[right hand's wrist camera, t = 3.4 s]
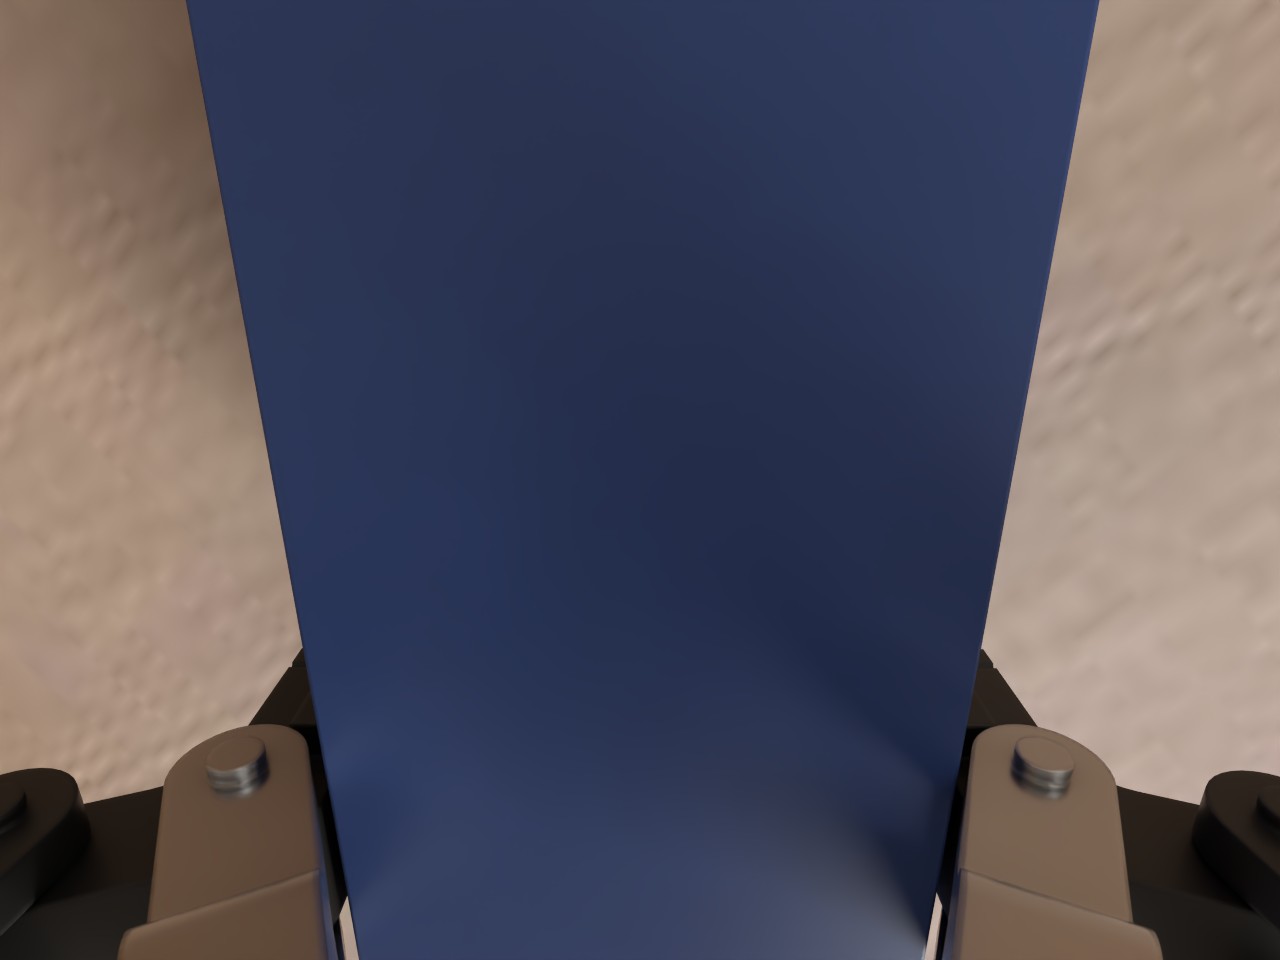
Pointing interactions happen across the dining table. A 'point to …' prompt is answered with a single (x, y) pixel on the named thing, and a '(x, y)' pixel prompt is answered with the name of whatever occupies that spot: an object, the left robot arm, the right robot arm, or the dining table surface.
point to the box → (642, 442)
